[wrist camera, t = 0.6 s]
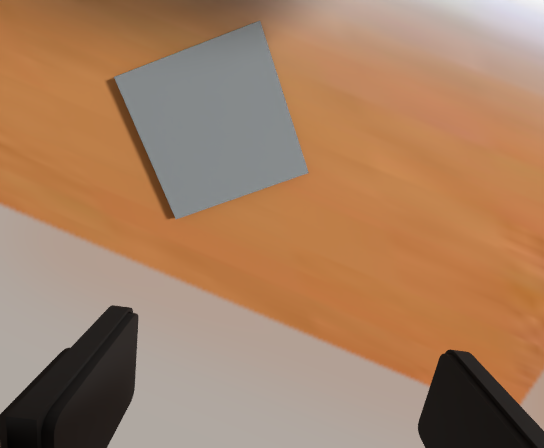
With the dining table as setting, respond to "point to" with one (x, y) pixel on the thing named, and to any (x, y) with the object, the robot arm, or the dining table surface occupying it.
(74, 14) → the dining table surface
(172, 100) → the grey mat
